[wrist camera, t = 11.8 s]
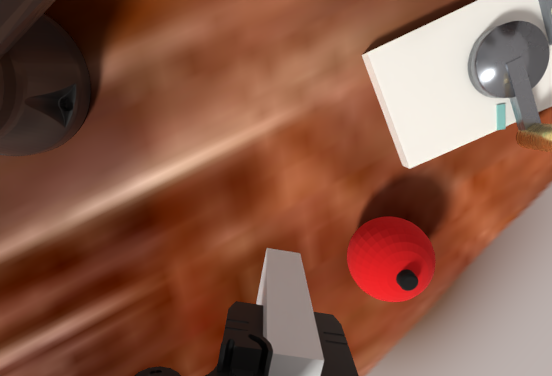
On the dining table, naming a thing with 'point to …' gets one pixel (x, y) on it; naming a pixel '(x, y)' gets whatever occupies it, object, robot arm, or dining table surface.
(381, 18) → the dining table surface
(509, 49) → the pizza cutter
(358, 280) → the ornament
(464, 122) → the stand
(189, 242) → the dining table surface
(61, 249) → the dining table surface
